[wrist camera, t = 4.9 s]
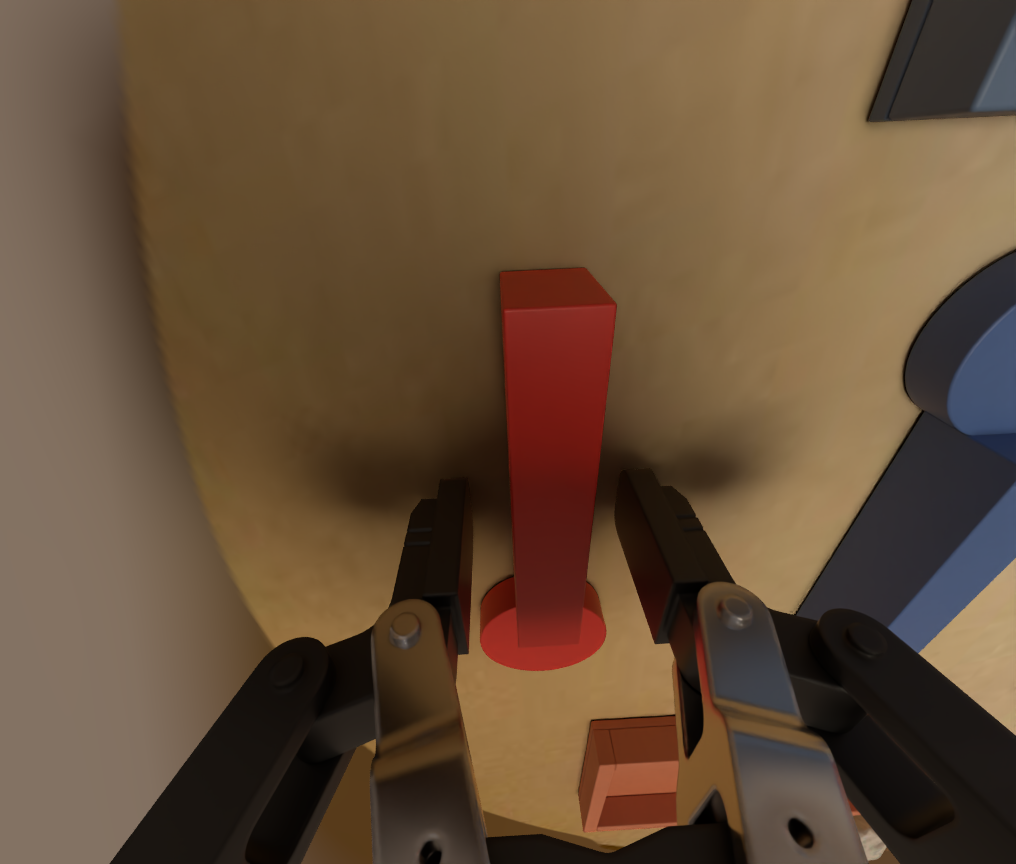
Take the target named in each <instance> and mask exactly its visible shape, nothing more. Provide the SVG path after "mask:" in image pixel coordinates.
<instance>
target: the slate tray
mask: <svg viewBox="0 0 1016 864" xmlns="http://www.w3.org/2000/svg"><path fill="white" fill-rule="evenodd" d="M1011 115H1016V0H912V2H911V5H910V8H909V11H908V13H907V16H906V19H905V21H904V24H903V27H902V30H901V32H900V35H899V38H898V41H897V43H896V46H895V49H894V52H893V54H892V57H891V60H890V62H889V65H888V68H887V71H886V73H885V76H884V79H883V82H882V84H881V87H880V90H879V93H878V95H877V98H876V101H875V103H874V106H873V109H872V112H871V114H870V117H869V121H870V122H883V121H904V120H926V119H947V118H969V117H990V116H1011Z"/></svg>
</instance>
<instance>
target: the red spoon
mask: <svg viewBox="0 0 1016 864" xmlns="http://www.w3.org/2000/svg"><path fill="white" fill-rule="evenodd" d="M500 294H501V315H502V336H503V356H504V377H505V398H506V418H507V439H508V460H509V480H510V501H511V522H512V543H513V563H514V577H512V578H509V579H507V580H505V581H503V582H501V583H499V584H498V585H496V586H495V587H494V588H492V589H491V590H490V591H489V592H488V593H487V595H486V596H485V598H484V599H483V602H482V604H481V618H480V643H481V647H482V649H483V651H484V652H485V653H486V655H487V656H488V657H490V658H491V659H492V660H494V661H495V662H497V663H499V664H501V665H504V666H507V667H510V668H514V669H520V670H528V671H544V670H553V669H559V668H563V667H567V666H570V665H573V664H576V663H579V662H581V661H583V660H585V659H586V658H588V657H590V656H591V655H593V654H594V653H595V652H596V651H597V650H598V649H599V648H600V647H601V646H602V644H603V642H604V640H605V637H606V626H605V622H604V618H603V614H602V610H601V605H600V601H599V597H598V595H597V593H596V591H595V590H594V588H593V587H592V586H591V585H590V584H588V583H587V582H586V578H587V569H588V560H589V551H590V542H591V533H592V524H593V516H594V507H595V498H596V489H597V480H598V471H599V462H600V453H601V444H602V435H603V426H604V417H605V409H606V400H607V391H608V382H609V373H610V364H611V355H612V346H613V337H614V328H615V319H616V310H617V304H616V303H615V301H614V300H613V299H612V298H611V297H610V296H609V294H608V293H607V292H606V291H605V290H604V289H603V287H602V286H601V285H600V284H599V283H598V282H597V280H596V279H595V278H594V277H593V276H592V275H591V273H590V272H589V271H588V270H587V269H586V268H569V269H549V270H528V271H508V272H501V273H500Z"/></svg>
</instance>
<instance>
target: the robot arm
mask: <svg viewBox="0 0 1016 864" xmlns="http://www.w3.org/2000/svg"><path fill="white" fill-rule="evenodd" d="M614 516H615V526H616V530H617V534H618V536H619V539H620V542H621V545H622V548H623V551H624V554H625V557H626V560H627V563H628V566H629V569H630V572H631V575H632V578H633V581H634V584H635V587H636V590H637V593H638V596H639V599H640V602H641V605H642V608H643V610H644V613H645V616H646V619H647V622H648V625H649V628H650V631H651V634H652V637H653V640H654V643H655V644H665V643H670V645H671V648H672V651H673V653H674V656H675V658H674V661H673V665H672V676H673V690H674V703H675V716H676V729H677V743H678V757H679V769H678V778H677V787H676V815H677V826H668V827H666V828H663V829H661V830H659V831H657V832H655V833H653V834H651V835H649V836H647V837H644V838H642V839H640V840H638V841H636V842H634V843H632V844H630V845H628V846H626V847H623V848H621V849H619V850H617V851H615V852H612V853H604V852H599V851H596V850H593V849H589V848H586V847H582V846H579V845H576V844H573V843H569V842H566V841H563V840H559V839H556V838H552V837H550V836H546V835H543V834H536V835H518V836H502V837H488V835H487V830H486V825H485V820H484V816H483V811H482V806H481V802H480V797H479V793H478V788H477V784H476V779H475V774H474V770H473V765H472V760H471V755H470V751H469V746H468V741H467V736H466V731H465V727H464V722H463V717H462V712H461V708H460V703H459V698H458V693H457V689H456V675H457V659H458V655H461V654H469V632H470V608H471V585H472V562H473V536H474V534H473V516H472V508H471V499H470V491H469V483H468V478H451V479H441V480H440V483H439V489H438V495H437V498H433V499H421V501H420V502H419V503H418V505H417V506H416V507H415V509H414V510H413V511H412V513H411V515H410V519H409V524H408V528H407V533H406V537H405V542H404V547H403V551H402V555H401V560H400V564H399V569H398V574H397V578H396V583H395V587H394V592H393V596H392V600H391V603H390V605H389V607H388V609H386V610H385V611H384V612H383V613H382V614H381V615H380V617H379V618H378V619H377V621H376V623H375V625H373V626H372V627H371V628H369V629H368V630H366V631H364V632H363V633H360V634H358V635H356V636H353V637H350V638H348V639H345V640H342V641H340V642H337V643H334V644H332V645H329V646H326V647H325V646H324V645H323V644H322V643H321V642H320V641H319V640H317V639H314V638H310V637H300V638H295V639H292V640H289V641H287V642H284V643H282V644H281V645H279V646H277V647H276V648H275V649H273V650H272V651H271V652H270V653H268V654H267V655H266V656H265V657H264V658H263V660H262V661H261V662H260V663H259V664H258V666H257V667H256V668H255V670H254V671H253V673H252V674H251V675H250V676H249V678H248V679H247V680H246V682H245V683H244V685H243V686H242V687H241V689H240V690H239V691H238V693H237V694H236V695H235V696H234V698H233V699H232V701H231V702H230V703H229V705H228V706H227V707H226V709H225V710H224V711H223V713H222V714H221V715H220V717H219V718H218V719H217V721H216V722H215V723H214V725H213V726H212V727H211V729H210V730H209V731H208V733H207V734H206V735H205V737H204V738H203V739H202V741H201V742H200V743H199V745H198V746H197V747H196V749H195V750H194V751H193V753H192V754H191V755H190V757H189V758H188V759H187V761H186V762H185V763H184V765H183V766H182V767H181V769H180V770H179V771H178V773H177V774H176V775H175V777H174V778H173V779H172V781H171V782H170V784H169V785H168V786H167V787H166V789H165V790H164V792H163V793H162V794H161V795H160V797H159V798H158V799H157V801H156V802H155V804H154V805H153V806H152V808H151V809H150V810H149V812H148V813H147V814H146V816H145V817H144V818H143V820H142V821H141V822H140V824H139V825H138V826H137V828H136V829H135V830H134V832H133V833H132V834H131V836H130V837H129V838H128V840H127V841H126V842H125V844H124V845H123V846H122V848H121V849H120V851H119V852H118V853H117V854H116V856H115V857H114V858H113V860H112V861H111V863H110V864H301V862H302V860H303V858H304V856H305V854H306V851H307V850H308V847H309V845H310V843H311V841H312V839H313V837H314V835H315V833H316V831H317V829H318V827H319V825H320V822H321V820H322V818H323V816H324V814H325V812H326V810H327V808H328V806H329V804H330V802H331V800H332V798H333V795H334V793H335V791H336V789H337V787H338V785H339V783H340V781H341V779H342V777H343V774H344V773H345V770H346V768H347V766H348V764H349V762H350V760H351V758H352V756H353V753H354V752H355V750H356V747H358V746H360V745H363V744H365V743H367V742H369V741H371V740H374V739H376V753H375V757H374V758H373V760H372V764H371V770H370V799H371V824H372V825H371V826H372V852H373V864H869V863H868V860H867V857H866V854H865V851H864V848H863V845H862V842H861V839H860V836H859V833H858V830H857V826H856V823H855V820H854V817H853V814H852V811H851V808H850V805H849V802H848V799H849V801H850V802H851V803H852V804H853V806H854V807H855V808H856V809H857V811H858V812H859V813H860V814H861V816H862V817H863V818H864V819H865V820H866V822H867V823H868V824H869V825H870V827H871V828H872V829H873V830H874V832H875V833H876V834H877V835H878V837H879V838H880V839H881V840H882V842H883V843H884V844H885V845H886V847H887V848H888V849H889V850H890V851H891V853H892V854H893V855H894V856H895V857H896V859H897V860H898V861H899V863H900V864H1016V735H1014V734H1013V733H1012V732H1011V731H1010V730H1008V729H1007V728H1006V727H1005V726H1004V725H1002V724H1001V723H1000V722H999V721H998V720H996V719H995V718H994V717H993V716H992V715H991V714H989V713H988V712H987V711H986V710H985V709H983V708H982V707H981V706H980V705H979V704H977V703H976V702H975V701H974V700H973V699H971V698H970V697H969V696H968V695H967V694H966V693H964V692H963V691H962V690H961V689H960V688H958V687H957V686H956V685H955V684H954V683H952V682H951V681H950V680H949V679H948V678H947V677H945V676H944V675H943V674H942V673H941V672H939V671H938V670H937V669H936V668H935V667H933V666H932V665H931V664H930V663H929V662H927V661H926V660H925V659H924V658H923V657H922V656H920V655H919V654H918V653H917V652H916V651H914V650H913V649H912V648H911V647H910V646H908V645H907V644H906V643H905V642H904V641H903V640H901V639H900V638H899V637H898V636H897V635H895V634H894V633H893V632H892V631H891V630H889V629H888V628H887V627H886V626H884V625H883V624H881V623H880V622H878V621H877V620H875V619H873V618H871V617H870V616H868V615H865V614H863V613H861V612H858V611H854V610H850V609H844V608H836V609H831V610H828V611H826V612H825V613H824V614H823V615H822V616H821V618H820V619H819V620H818V621H817V620H813V619H808V618H804V617H800V616H795V615H791V614H787V613H783V612H779V611H775V610H772V609H770V608H767V607H766V606H765V604H764V603H763V602H762V601H761V600H760V599H759V598H758V597H757V596H756V595H754V594H753V593H752V592H750V591H749V590H747V589H745V588H743V587H741V586H739V585H736V583H735V582H734V580H733V579H732V577H731V575H730V573H729V572H728V570H727V568H726V566H725V565H724V563H723V561H722V559H721V558H720V556H719V554H718V552H717V551H716V549H715V547H714V545H713V544H712V542H711V540H710V539H709V537H708V535H707V533H706V532H705V531H704V530H703V526H702V525H701V523H700V521H699V519H698V518H696V514H695V512H694V511H693V509H692V507H691V505H690V504H689V502H688V500H687V499H686V498H685V497H684V496H683V495H682V494H680V493H679V492H678V491H677V490H676V489H674V488H673V487H672V486H662V487H661V486H660V484H659V482H658V480H657V479H656V477H655V475H654V473H653V471H652V470H651V469H650V468H644V469H625V470H622V471H621V473H620V477H619V484H618V490H617V497H616V503H615V511H614ZM868 714H869V715H868ZM895 742H896V743H897V744H898V745H899V746H900V747H899V746H898V745H897V744H896V743H895ZM925 773H926V774H927V775H928V776H929V777H930V778H929V777H928V776H927V775H926V774H925ZM847 798H848V799H847Z"/></svg>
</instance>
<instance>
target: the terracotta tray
mask: <svg viewBox="0 0 1016 864" xmlns="http://www.w3.org/2000/svg"><path fill="white" fill-rule="evenodd" d="M868 715H869V714H868ZM895 743H896V742H895ZM896 744H897V743H896ZM897 745H898V744H897ZM898 746H899V745H898ZM899 747H900V746H899ZM678 769H679V757H678V743H677V729H676V716H668V717H652V718H635V719H618V720H601V721H591V727H590V733H589V738H588V744H587V749H586V755H585V760H584V766H583V771H582V777H581V782H580V788H579V793H578V796H579V801H580V802H579V803H580V811H581V818H582V825H583V831H584V832H595V831H613V830H629V829H645V828H661V827H668V826H677V815H676V787H677V778H678ZM925 774H926V773H925ZM926 775H927V774H926ZM927 776H928V775H927ZM928 777H929V776H928ZM929 778H930V777H929ZM847 799H848V798H847ZM848 802H849V805H850V808H851V811H852V814H853V816H855V815H861V814H860V813H859V812H858V811H857V809H856V808H855V807H854V806H853V804H852V803H851V802H850V801H849V799H848Z"/></svg>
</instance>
